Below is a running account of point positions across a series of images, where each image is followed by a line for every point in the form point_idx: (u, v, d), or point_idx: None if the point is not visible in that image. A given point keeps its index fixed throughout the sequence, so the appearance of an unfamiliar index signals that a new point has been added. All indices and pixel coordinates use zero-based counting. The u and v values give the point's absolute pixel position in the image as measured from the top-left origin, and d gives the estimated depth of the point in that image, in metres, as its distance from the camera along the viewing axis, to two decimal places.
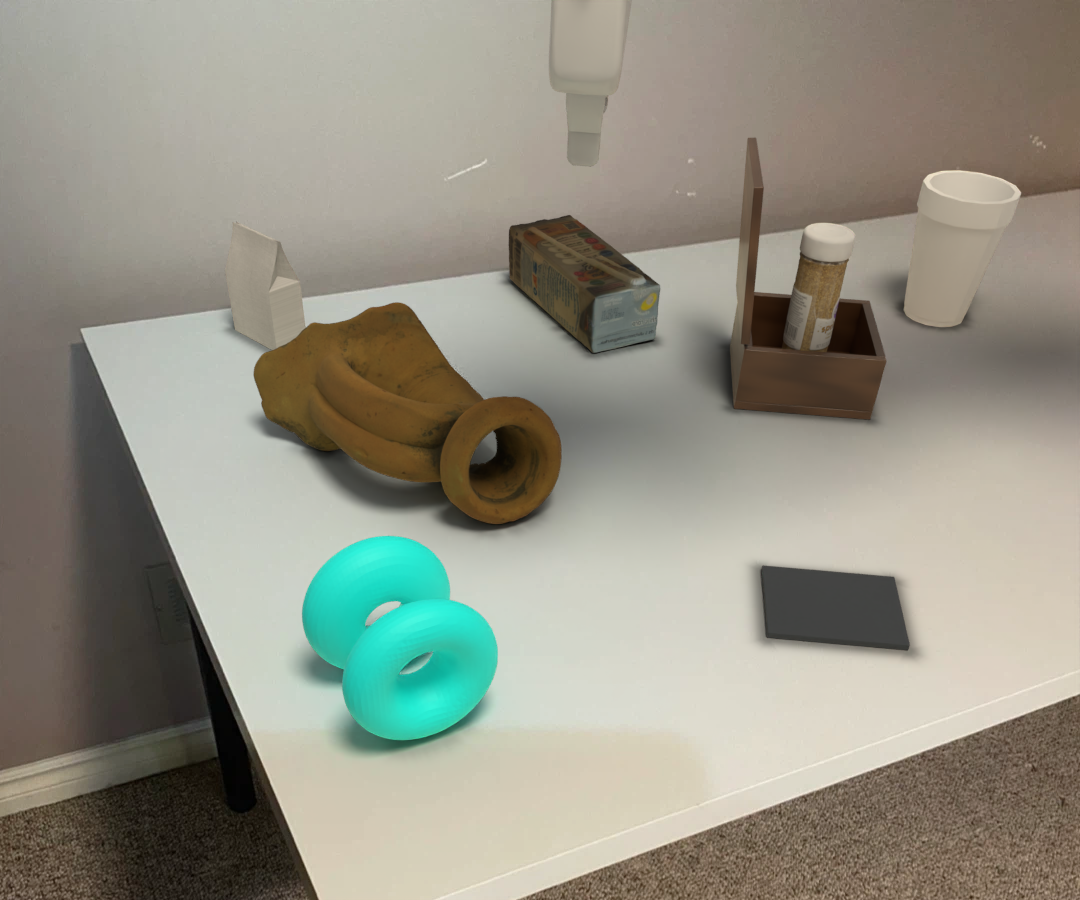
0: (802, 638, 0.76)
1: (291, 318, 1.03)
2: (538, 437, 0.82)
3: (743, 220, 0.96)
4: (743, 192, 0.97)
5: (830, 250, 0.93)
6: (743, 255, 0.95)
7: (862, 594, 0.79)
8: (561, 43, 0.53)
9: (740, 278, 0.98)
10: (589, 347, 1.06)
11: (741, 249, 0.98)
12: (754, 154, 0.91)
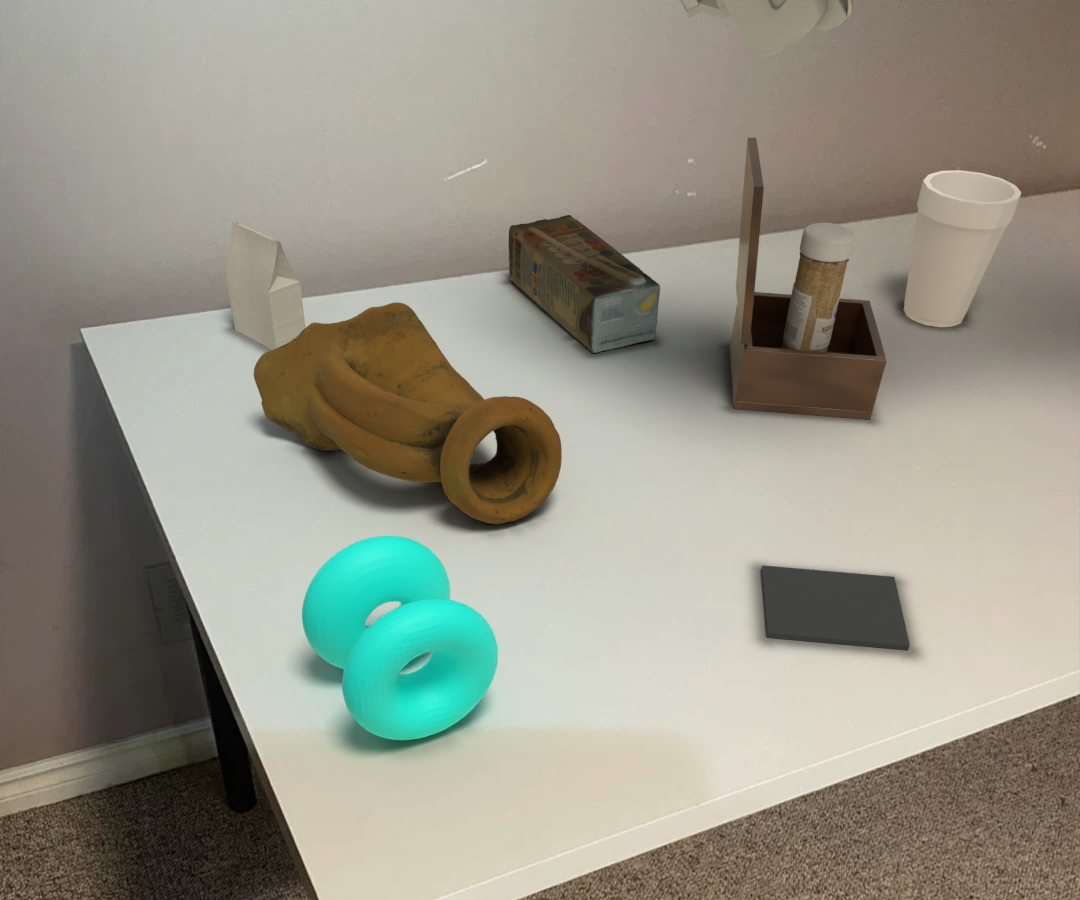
0: (802, 638, 0.76)
1: (291, 318, 1.03)
2: (538, 437, 0.82)
3: (743, 220, 0.96)
4: (743, 192, 0.97)
5: (830, 250, 0.93)
6: (743, 255, 0.95)
7: (862, 594, 0.79)
8: None
9: (740, 278, 0.98)
10: (589, 347, 1.06)
11: (741, 249, 0.98)
12: (754, 154, 0.91)
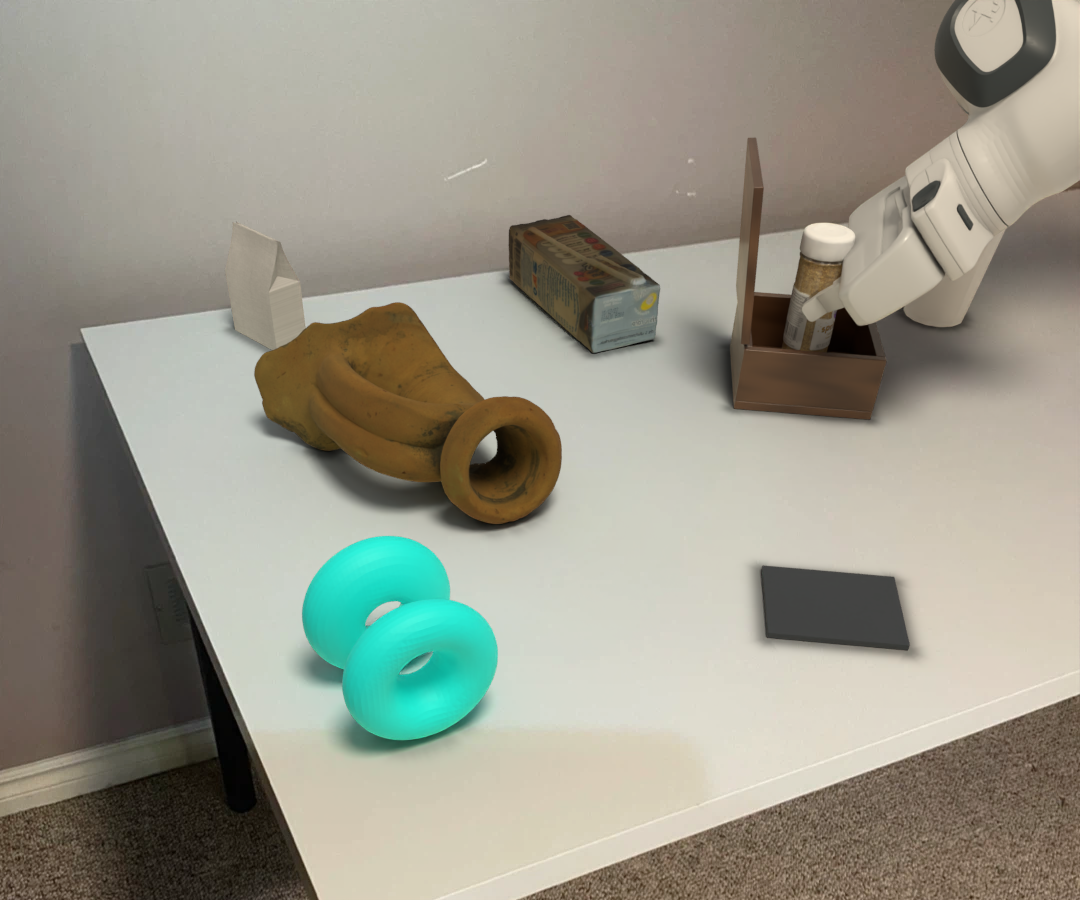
0: (802, 638, 0.76)
1: (291, 318, 1.03)
2: (538, 437, 0.82)
3: (743, 220, 0.96)
4: (743, 192, 0.97)
5: (830, 250, 0.93)
6: (743, 255, 0.95)
7: (862, 594, 0.79)
8: None
9: (740, 278, 0.98)
10: (589, 347, 1.06)
11: (741, 249, 0.98)
12: (754, 154, 0.91)
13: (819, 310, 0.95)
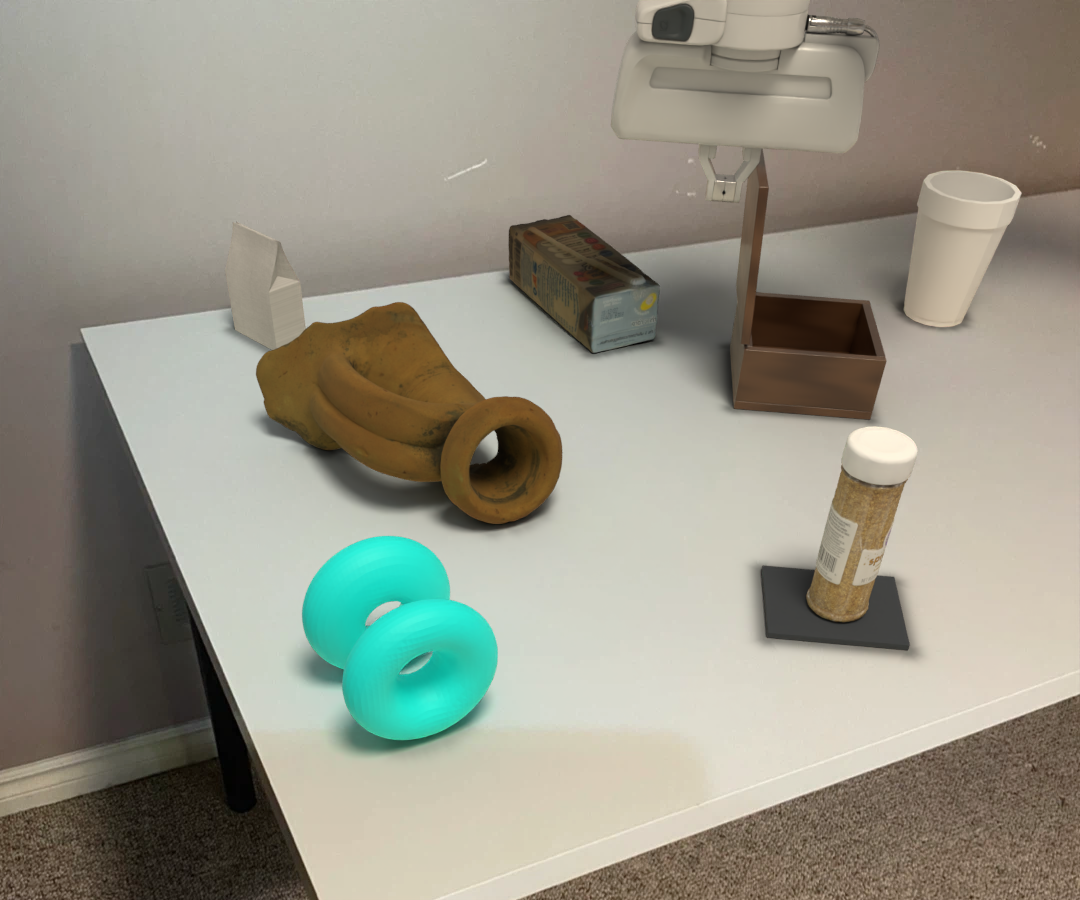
0: (802, 638, 0.76)
1: (291, 318, 1.03)
2: (539, 437, 0.82)
3: (746, 220, 0.96)
4: (746, 192, 0.97)
5: (884, 471, 0.68)
6: (745, 255, 0.95)
7: None
8: (860, 122, 0.86)
9: (741, 278, 0.98)
10: (589, 347, 1.06)
11: (743, 249, 0.98)
12: None
13: (707, 184, 0.91)
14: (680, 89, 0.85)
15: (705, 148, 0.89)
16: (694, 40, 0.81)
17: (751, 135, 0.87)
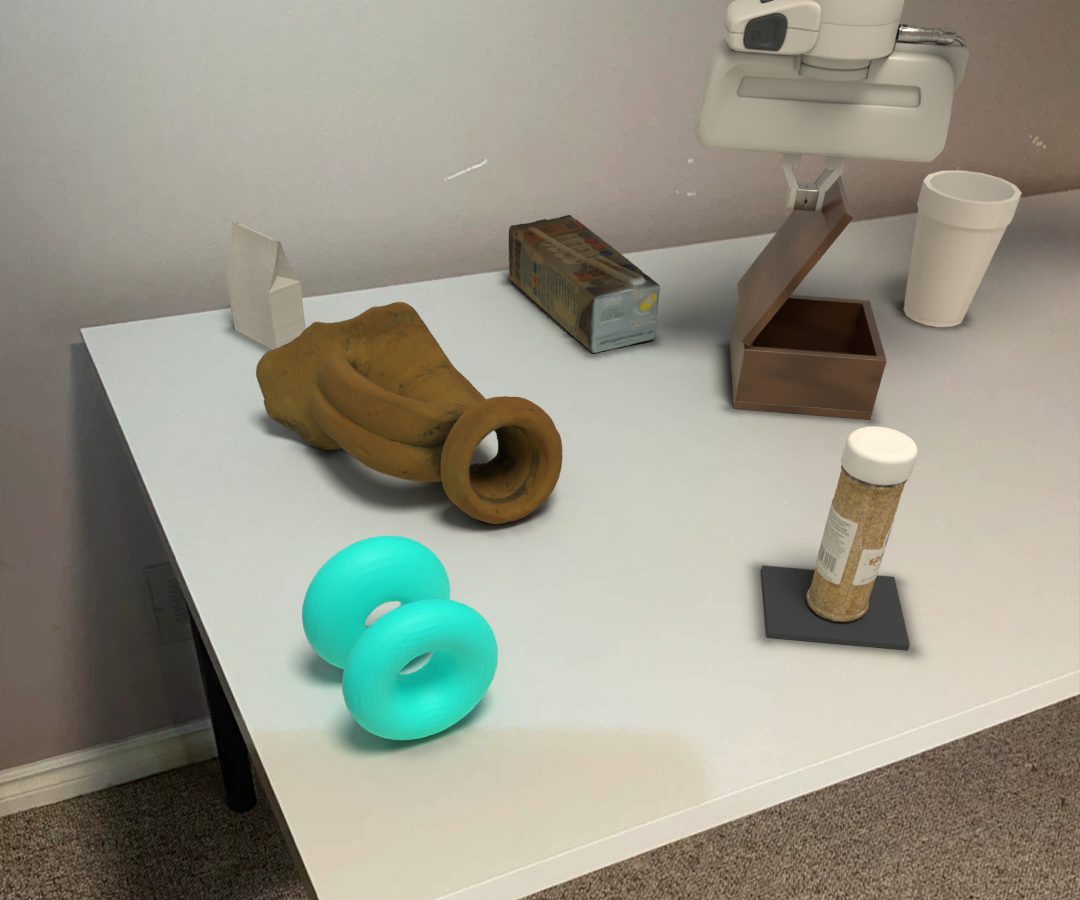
0: (802, 638, 0.76)
1: (291, 318, 1.03)
2: (539, 437, 0.82)
3: (790, 231, 0.97)
4: None
5: (884, 471, 0.68)
6: (780, 263, 0.95)
7: None
8: None
9: (760, 281, 0.98)
10: (589, 347, 1.06)
11: (772, 256, 0.98)
12: (840, 182, 0.92)
13: (789, 192, 0.91)
14: (767, 98, 0.85)
15: (789, 157, 0.89)
16: (786, 49, 0.81)
17: (837, 144, 0.87)
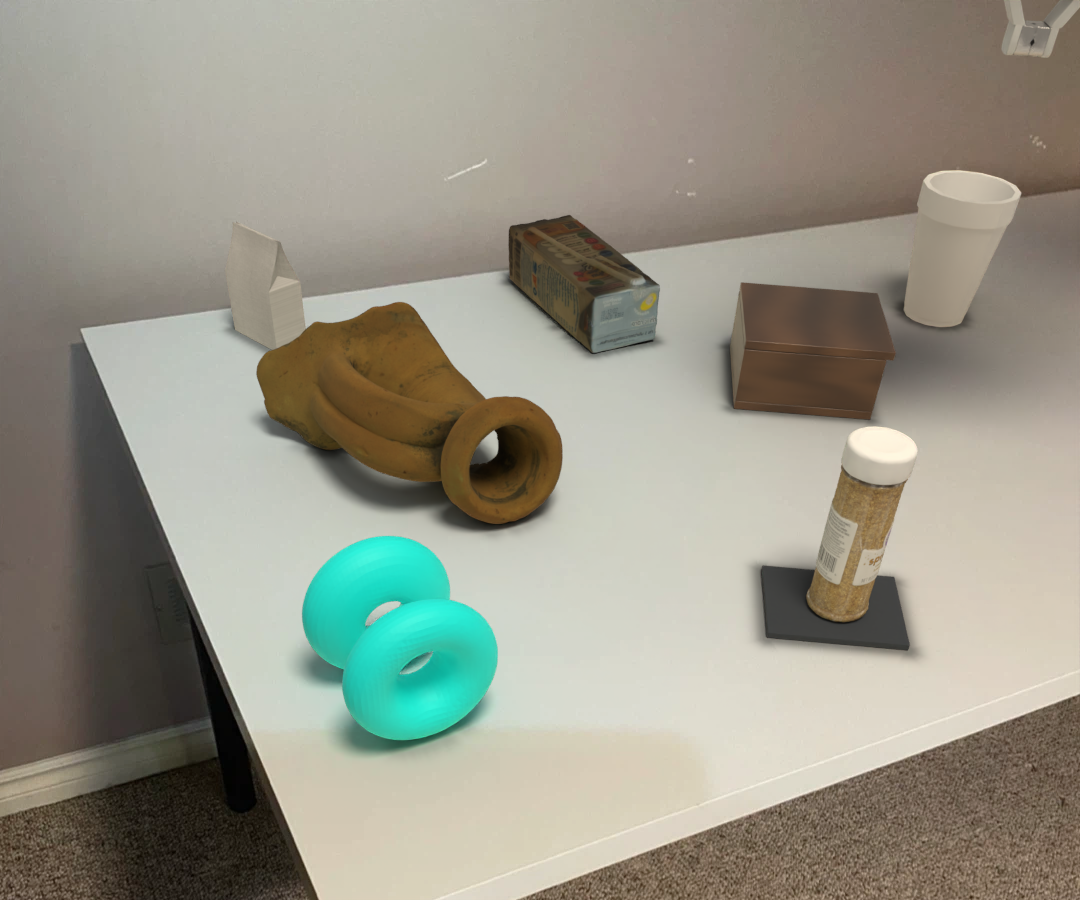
0: (802, 638, 0.76)
1: (291, 318, 1.03)
2: (539, 437, 0.82)
3: (820, 303, 1.01)
4: (832, 291, 1.03)
5: (884, 471, 0.68)
6: (805, 318, 0.98)
7: None
8: None
9: (775, 309, 1.00)
10: (589, 347, 1.06)
11: (795, 303, 1.01)
12: None
13: (1010, 32, 0.71)
14: None
15: None
16: None
17: None
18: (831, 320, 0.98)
